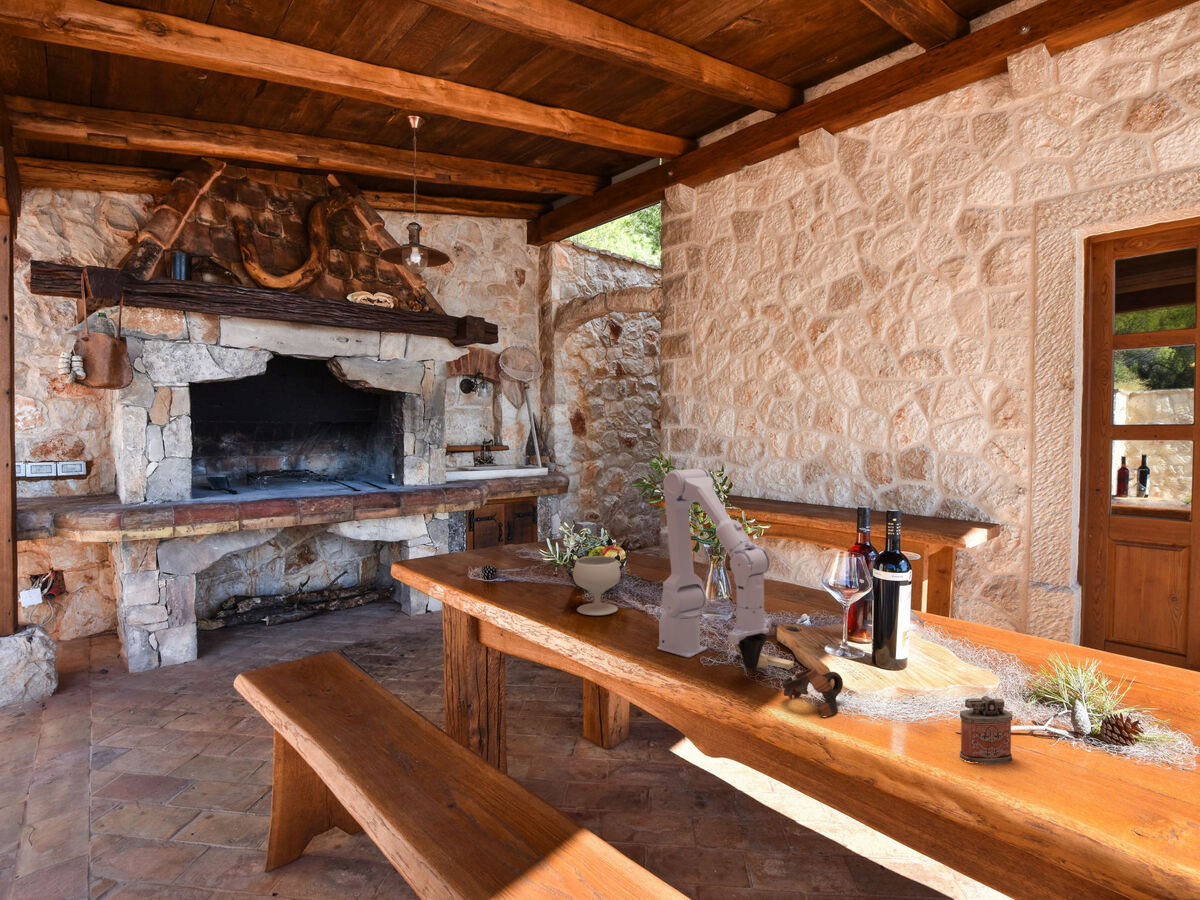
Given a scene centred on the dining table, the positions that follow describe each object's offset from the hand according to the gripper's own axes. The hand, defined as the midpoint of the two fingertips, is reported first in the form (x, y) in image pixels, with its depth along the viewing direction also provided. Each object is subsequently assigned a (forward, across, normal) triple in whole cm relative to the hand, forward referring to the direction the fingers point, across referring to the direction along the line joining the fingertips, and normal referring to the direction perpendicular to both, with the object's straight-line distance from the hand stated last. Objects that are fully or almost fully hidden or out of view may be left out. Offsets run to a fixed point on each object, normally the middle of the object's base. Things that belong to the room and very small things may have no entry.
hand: (750, 668), depth 139 cm
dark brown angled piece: (+3, -4, -16) cm, 17 cm away
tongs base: (+2, +10, +3) cm, 11 cm away
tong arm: (0, +7, +4) cm, 8 cm away
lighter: (+3, -4, -45) cm, 45 cm away
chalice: (+3, +16, +60) cm, 62 cm away
